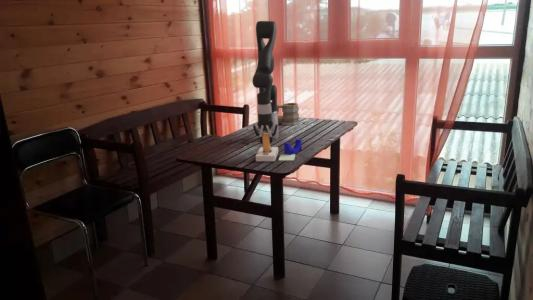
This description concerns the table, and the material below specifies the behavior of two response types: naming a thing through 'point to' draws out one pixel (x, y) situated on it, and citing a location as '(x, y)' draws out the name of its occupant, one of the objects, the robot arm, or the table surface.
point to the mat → (286, 157)
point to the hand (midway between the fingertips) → (266, 143)
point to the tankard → (289, 114)
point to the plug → (266, 143)
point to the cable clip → (296, 147)
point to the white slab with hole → (267, 154)
